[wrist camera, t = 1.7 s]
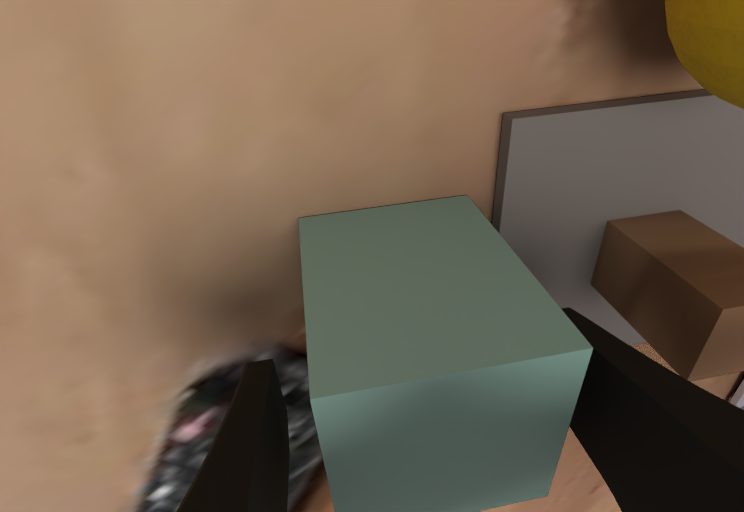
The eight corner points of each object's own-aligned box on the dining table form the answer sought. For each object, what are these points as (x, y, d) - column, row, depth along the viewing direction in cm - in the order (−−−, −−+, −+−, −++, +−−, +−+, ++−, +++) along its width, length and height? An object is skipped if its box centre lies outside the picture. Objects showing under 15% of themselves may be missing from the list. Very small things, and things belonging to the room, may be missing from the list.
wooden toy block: (656, 273, 16) (770, 365, 12) (590, 284, 16) (686, 382, 12) (680, 209, 14) (818, 293, 11) (607, 220, 14) (723, 309, 10)
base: (699, 321, 19) (710, 330, 18) (477, 361, 18) (483, 372, 17) (816, 76, 13) (836, 80, 13) (503, 112, 12) (512, 119, 12)
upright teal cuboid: (459, 320, 16) (547, 495, 11) (320, 344, 16) (341, 540, 10) (467, 194, 13) (593, 348, 8) (298, 218, 13) (309, 399, 7)
